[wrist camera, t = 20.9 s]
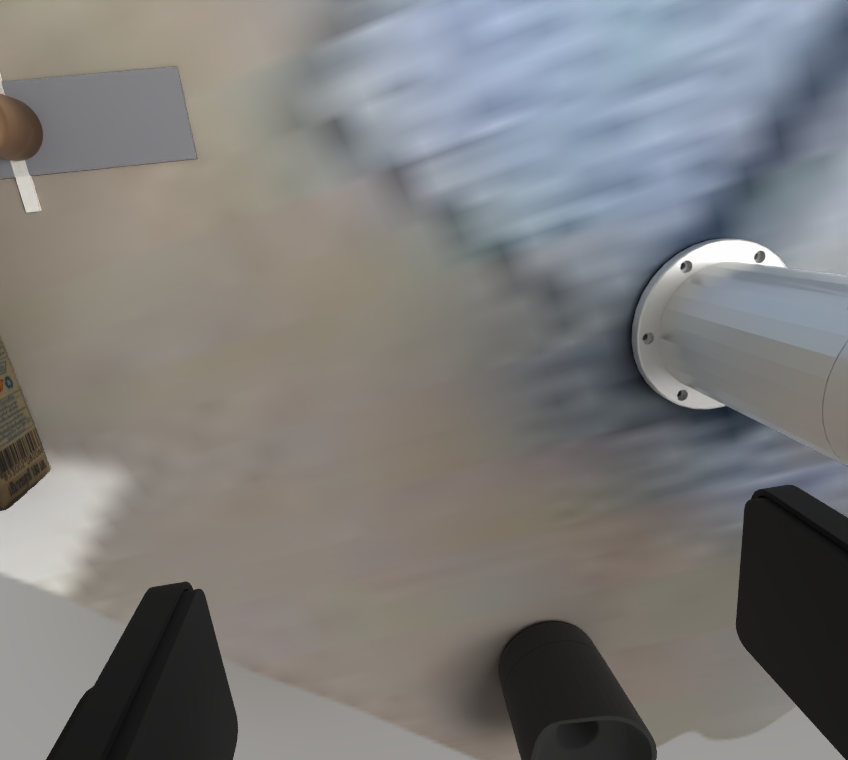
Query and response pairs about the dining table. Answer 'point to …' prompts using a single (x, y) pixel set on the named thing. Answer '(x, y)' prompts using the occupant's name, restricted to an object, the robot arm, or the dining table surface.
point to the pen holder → (568, 699)
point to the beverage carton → (17, 440)
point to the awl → (18, 130)
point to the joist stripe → (101, 123)
